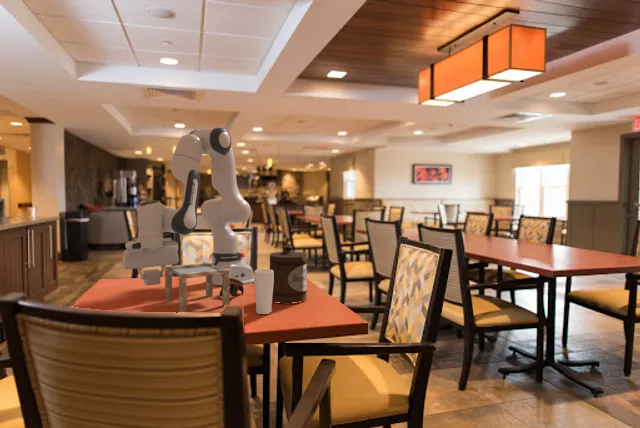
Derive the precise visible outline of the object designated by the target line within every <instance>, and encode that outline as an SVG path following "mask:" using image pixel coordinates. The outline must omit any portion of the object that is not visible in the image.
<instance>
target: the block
mask: <svg viewBox="0 0 640 428" xmlns="http://www.w3.org/2000/svg"><path fill="white" fill-rule="evenodd" d="M142 271H143V272H142V274H145V275H146V279H143V284H144V285H145V286H155V285H161V277H160V271H161V270H159V269H158V268H155V269H144V270H143V269H142Z"/></svg>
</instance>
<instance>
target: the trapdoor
mask: <svg viewBox="0 0 640 428" xmlns="http://www.w3.org/2000/svg"><path fill="white" fill-rule="evenodd" d="M212 267H213V266H212ZM212 267H209V266H207V267H196V268H185V269H174V270H172V274H175V275H176V276H178V277H179V274H182V273H192V272H203V271H213V270H223V269H226V268H223V267H213V268H212ZM212 276H213V275H212ZM221 276H222V274H221ZM203 277H205V276H202V277H201V278H203ZM193 278H195V277H193ZM193 278H192V279H193Z"/></svg>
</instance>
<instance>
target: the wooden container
mask: <svg viewBox="0 0 640 428" xmlns="http://www.w3.org/2000/svg"><path fill="white" fill-rule="evenodd" d="M283 248H284V250H283V251H276V252H272V253H270V254H269V269H271V270H273V271H274V285H273V296H272V301H273V302H280V303H292V302H299V301H303V300H305V299H306V300H307V288H308V287H307V286H308V283H307V282H308V281H307V280H308V278H307V277H308V276H307V275H308V274H307V273H308V269H307V268H308V267H307V264H308V262H307V258H308V255H307V253H305V252H300V251H299V252H298V251H294V250H293V245H291V244H289V243H287V244H285V245H284V246H283ZM273 302H272V303H273Z"/></svg>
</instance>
